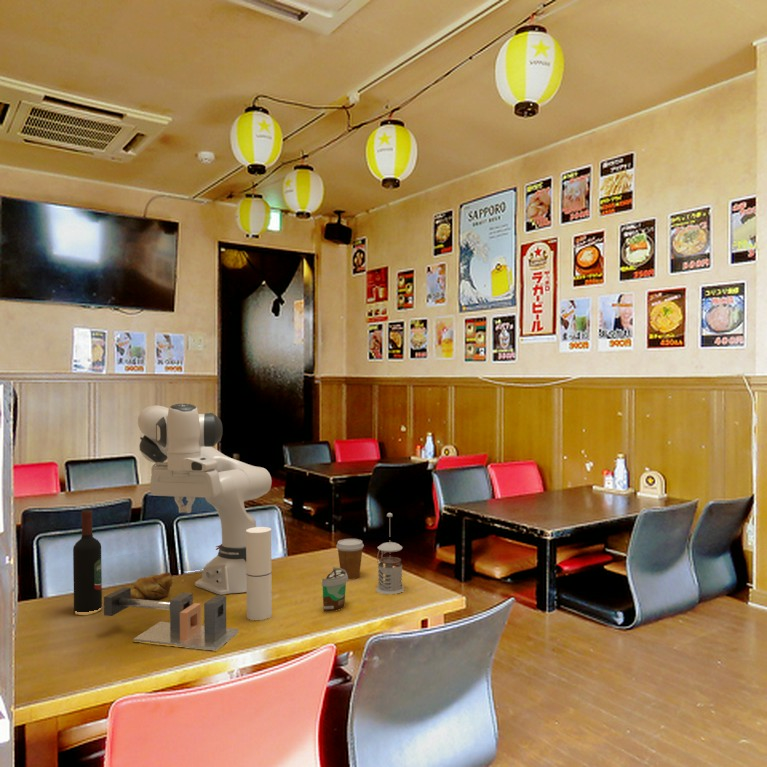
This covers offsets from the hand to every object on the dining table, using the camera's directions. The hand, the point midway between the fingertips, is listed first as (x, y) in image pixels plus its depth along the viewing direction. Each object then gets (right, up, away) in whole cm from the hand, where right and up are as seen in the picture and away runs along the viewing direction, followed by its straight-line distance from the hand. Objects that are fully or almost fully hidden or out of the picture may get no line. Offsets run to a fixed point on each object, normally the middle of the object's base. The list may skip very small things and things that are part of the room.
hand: (185, 512), depth 173 cm
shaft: (-9, -26, -4) cm, 28 cm away
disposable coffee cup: (+43, -31, +44) cm, 69 cm away
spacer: (+4, -31, -7) cm, 32 cm away
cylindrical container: (+19, -32, +8) cm, 38 cm away
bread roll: (-19, -32, +24) cm, 44 cm away
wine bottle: (-33, -32, +13) cm, 48 cm away
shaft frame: (+3, -32, -7) cm, 33 cm away
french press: (+57, -31, +30) cm, 72 cm away
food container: (+41, -32, +15) cm, 54 cm away
